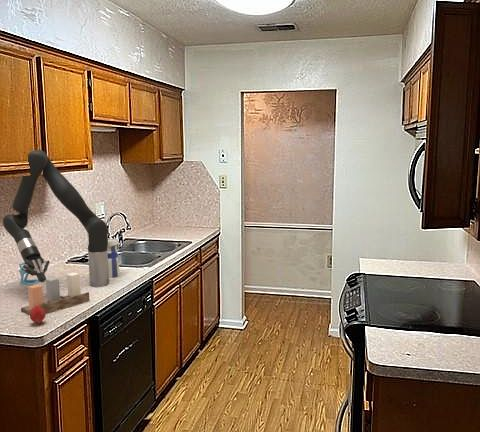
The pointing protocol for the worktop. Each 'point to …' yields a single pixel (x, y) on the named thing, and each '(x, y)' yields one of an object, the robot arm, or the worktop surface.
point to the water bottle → (113, 258)
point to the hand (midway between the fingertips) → (43, 281)
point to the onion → (37, 314)
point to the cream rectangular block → (73, 284)
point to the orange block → (35, 296)
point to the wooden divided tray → (60, 303)
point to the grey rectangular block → (52, 289)
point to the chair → (26, 277)
